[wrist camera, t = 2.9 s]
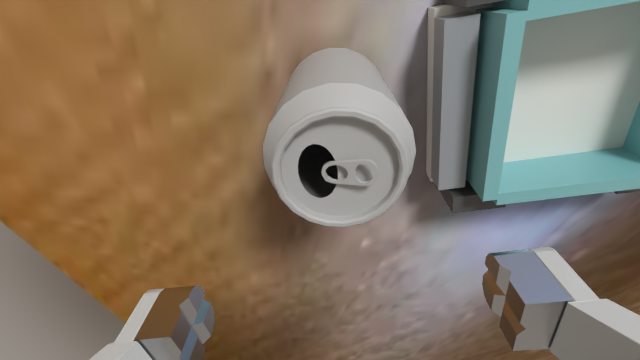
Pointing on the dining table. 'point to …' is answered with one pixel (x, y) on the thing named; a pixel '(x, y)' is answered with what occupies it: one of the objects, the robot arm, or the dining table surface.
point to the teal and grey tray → (532, 100)
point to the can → (338, 141)
